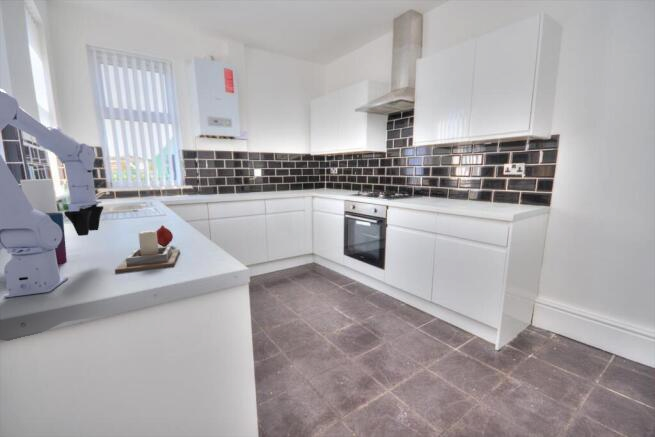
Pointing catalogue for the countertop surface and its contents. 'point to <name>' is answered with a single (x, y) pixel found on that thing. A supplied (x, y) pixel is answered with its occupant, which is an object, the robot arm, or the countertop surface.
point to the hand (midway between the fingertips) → (88, 232)
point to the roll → (148, 243)
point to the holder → (148, 260)
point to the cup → (61, 247)
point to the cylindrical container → (40, 194)
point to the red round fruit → (164, 236)
